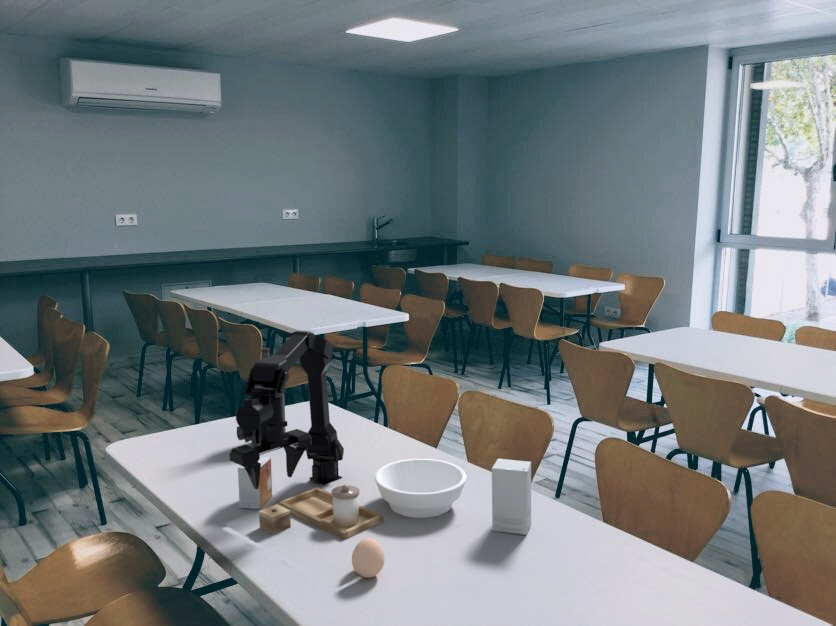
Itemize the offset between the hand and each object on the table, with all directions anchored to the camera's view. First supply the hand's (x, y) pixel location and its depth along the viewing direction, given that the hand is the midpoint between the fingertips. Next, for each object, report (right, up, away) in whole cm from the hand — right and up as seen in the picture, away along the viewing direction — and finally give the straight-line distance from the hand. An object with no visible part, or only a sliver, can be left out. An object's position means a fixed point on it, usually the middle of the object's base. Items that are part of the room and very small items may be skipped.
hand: (273, 482), depth 167 cm
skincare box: (+55, -11, +3) cm, 56 cm away
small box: (-8, -9, +17) cm, 21 cm away
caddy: (+12, -10, +9) cm, 18 cm away
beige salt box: (0, -12, +2) cm, 12 cm away
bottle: (-13, -2, +58) cm, 59 cm away
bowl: (+34, -10, +14) cm, 38 cm away
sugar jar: (+16, -10, +5) cm, 20 cm away
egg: (+23, -15, -17) cm, 32 cm away
